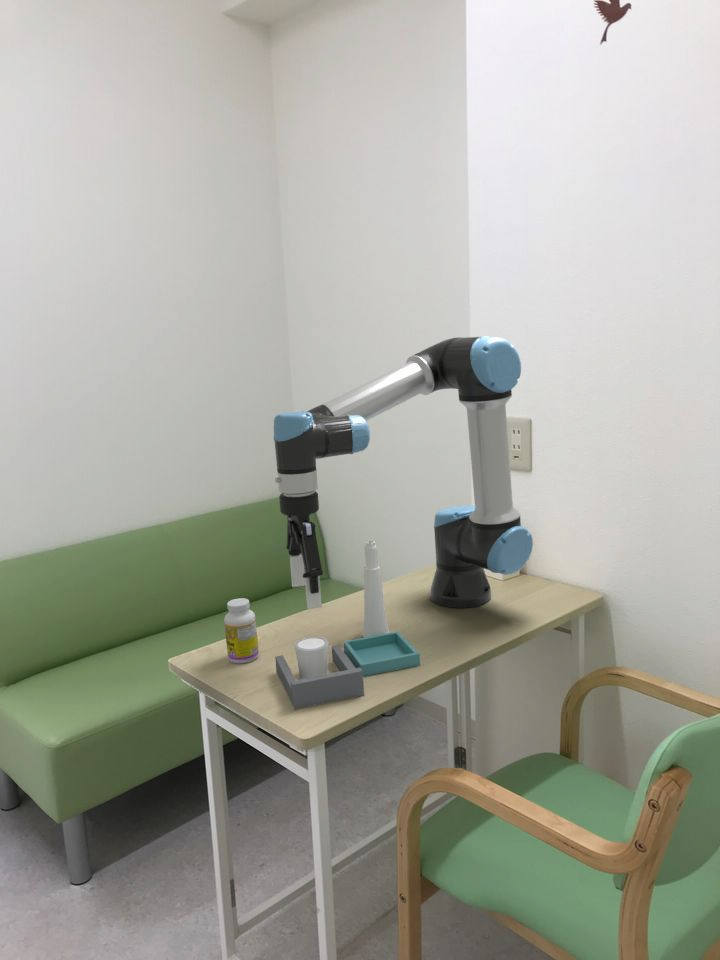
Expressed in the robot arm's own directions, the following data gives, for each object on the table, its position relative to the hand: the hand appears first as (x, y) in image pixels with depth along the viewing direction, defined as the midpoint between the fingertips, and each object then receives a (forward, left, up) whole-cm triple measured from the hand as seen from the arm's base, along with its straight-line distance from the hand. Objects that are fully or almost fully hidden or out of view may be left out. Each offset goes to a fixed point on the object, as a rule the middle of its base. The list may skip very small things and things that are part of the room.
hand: (306, 596), depth 152 cm
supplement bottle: (+12, -14, -17) cm, 25 cm away
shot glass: (0, 0, -17) cm, 17 cm away
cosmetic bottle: (-18, -13, -17) cm, 28 cm away
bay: (0, +4, -17) cm, 17 cm away
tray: (-15, -1, -17) cm, 23 cm away
